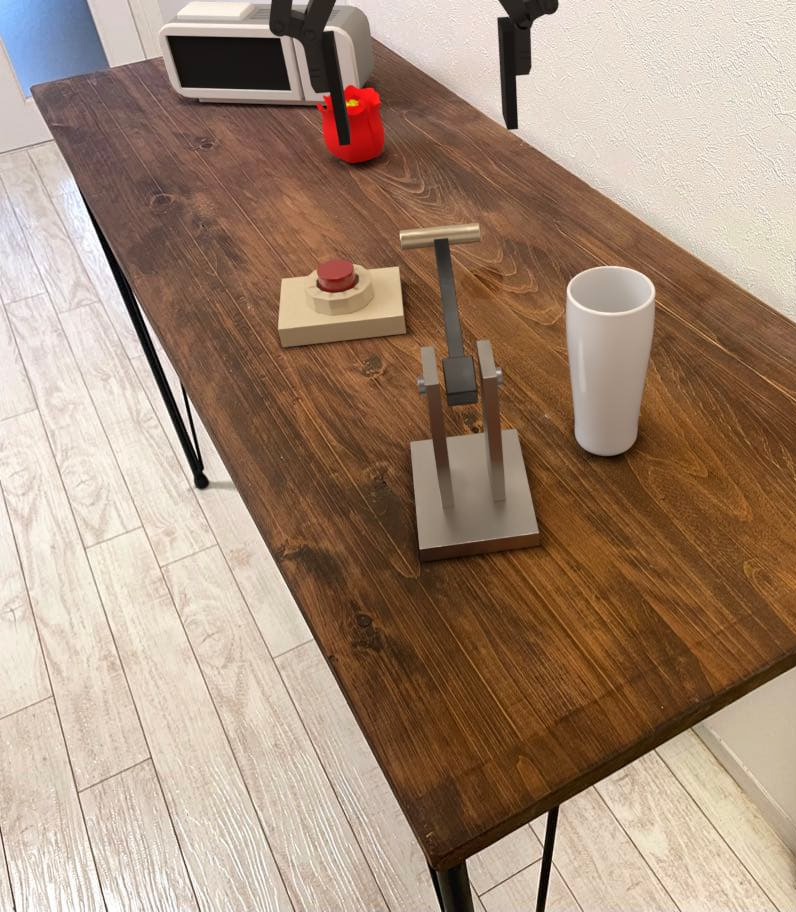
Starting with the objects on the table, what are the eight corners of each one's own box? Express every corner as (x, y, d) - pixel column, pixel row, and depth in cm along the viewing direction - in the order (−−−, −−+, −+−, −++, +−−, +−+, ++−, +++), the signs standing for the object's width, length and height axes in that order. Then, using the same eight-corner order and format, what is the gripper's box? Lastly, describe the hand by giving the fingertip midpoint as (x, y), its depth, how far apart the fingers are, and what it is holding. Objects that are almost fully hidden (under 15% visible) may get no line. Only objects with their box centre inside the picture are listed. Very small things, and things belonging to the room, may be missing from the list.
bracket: (412, 454, 78) (390, 319, 69) (517, 441, 79) (509, 306, 69) (421, 562, 69) (398, 425, 60) (539, 545, 70) (534, 408, 61)
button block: (282, 347, 89) (273, 313, 87) (286, 296, 96) (277, 263, 93) (406, 333, 91) (401, 299, 88) (401, 284, 97) (396, 250, 94)
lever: (400, 240, 71) (398, 223, 68) (478, 232, 71) (478, 215, 69) (421, 410, 66) (419, 398, 64) (504, 400, 67) (504, 387, 65)
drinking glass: (550, 431, 80) (547, 282, 69) (613, 402, 82) (620, 255, 72) (596, 476, 76) (601, 326, 65) (661, 444, 78) (675, 294, 68)
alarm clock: (176, 105, 132) (150, 18, 124) (202, 80, 139) (178, -4, 131) (361, 111, 129) (347, 22, 121) (378, 85, 136) (366, -1, 128)
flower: (395, 165, 117) (386, 103, 111) (335, 177, 115) (323, 114, 110) (379, 141, 122) (370, 80, 117) (322, 151, 120) (310, 90, 115)
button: (319, 296, 89) (316, 280, 88) (320, 276, 92) (316, 261, 91) (357, 292, 90) (354, 276, 89) (356, 272, 92) (353, 257, 91)
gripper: (585, -292, 53) (582, 92, 68) (167, -273, 50) (260, 121, 65) (614, -279, 47) (603, 136, 62) (146, -256, 45) (254, 169, 60)
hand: (428, 129), depth 64 cm, fingers open, 11 cm apart
